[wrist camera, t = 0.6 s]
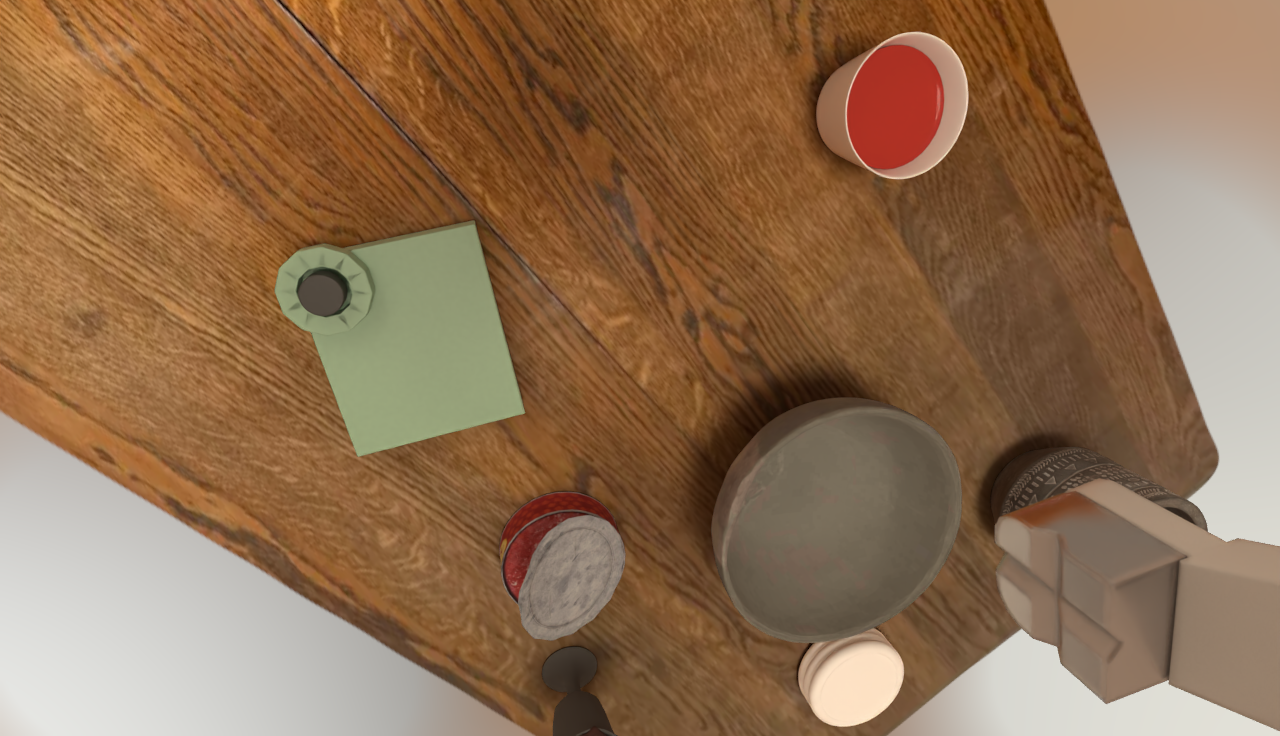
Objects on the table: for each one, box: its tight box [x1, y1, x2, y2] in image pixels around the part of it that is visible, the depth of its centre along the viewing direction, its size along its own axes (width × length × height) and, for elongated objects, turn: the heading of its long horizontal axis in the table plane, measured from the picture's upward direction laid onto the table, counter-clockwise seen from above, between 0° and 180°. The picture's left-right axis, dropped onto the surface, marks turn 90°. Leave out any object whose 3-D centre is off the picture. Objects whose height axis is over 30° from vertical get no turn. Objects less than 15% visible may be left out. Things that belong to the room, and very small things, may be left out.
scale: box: [275, 220, 525, 457], centre depth 46 cm, size 15×13×4 cm
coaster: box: [798, 628, 904, 726], centre depth 67 cm, size 10×10×4 cm
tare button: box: [298, 271, 347, 316], centre depth 42 cm, size 3×3×1 cm
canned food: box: [500, 492, 625, 641], centre depth 54 cm, size 11×10×10 cm
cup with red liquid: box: [816, 32, 968, 179], centre depth 47 cm, size 9×9×6 cm
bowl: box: [711, 397, 962, 643], centre depth 55 cm, size 20×20×10 cm
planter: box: [990, 447, 1208, 532], centre depth 61 cm, size 12×12×13 cm
